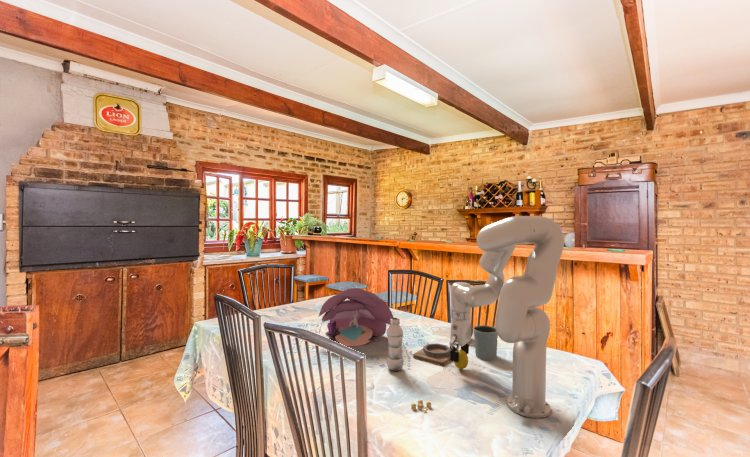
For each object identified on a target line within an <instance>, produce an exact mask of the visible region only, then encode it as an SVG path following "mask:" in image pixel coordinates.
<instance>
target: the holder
mask: <svg viewBox="0 0 750 457" xmlns="http://www.w3.org/2000/svg"><path fill="white" fill-rule="evenodd" d="M450 354H451V351H450V346H448V345H445V344H443V343H442V344H441V343H438V342H437V343H427V344H426V345H423V346H422V348H421V349H420V350H418V351H416V352H415V353H413V355H412V356H413V359H416V360H420V361H424V362H426V363H431V364H435V365H437V366H442V367H444V366H446V365H447V364H449V362H452V361H451V360H450Z"/></svg>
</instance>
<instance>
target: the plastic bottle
mask: <svg viewBox="0 0 750 457" xmlns="http://www.w3.org/2000/svg"><path fill="white" fill-rule="evenodd" d="M390 324H391V325H389V326H388V328H387V329H386V337H387V345H388V347H387V349H388V350H387V358H386V366H387V369H389V370H390V371H395V372H398V371H401V370H402V369H403V365H404V359H403V350H402V346H403V344H402V343H403V339H404V338H403V337H404V330H403V329H402V326H400V325H401V324H400V318H399V317H394V318H391V319H390Z"/></svg>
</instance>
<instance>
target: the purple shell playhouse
mask: <svg viewBox="0 0 750 457" xmlns="http://www.w3.org/2000/svg"><path fill="white" fill-rule="evenodd" d="M321 316H322V318H321V322H327V321H329V322H328V323H327V324H326V327H327V330H328V331H326V332H325V336H326V337H328V338H330V339H331V340H332V339H334V338H335V340H336V342H337V343H338V342H339V343H338V344H340V343H341V344H343V345H342V346H344V345H345V347H359V346H363V345H366V344H368V343H370V342H371V338H372V337H381V336H383V335H385V333H387V325H389V326H390V325H391V324H390V319H391V318H395V317H394V315H393V313H392V311H391V309H390V307H389V306H388V304H387V303H386V302H385V301H384V300H383V298H380V297H379V296H378V295H377V294H375V293H373V292H371V291H369V290H365V289H363V288H358V287H353V288H352V287H351V288H347V289H345V290H343V291H341V292H339V293H337V294H335V295H332V296H331V297H329V298H328V299H327V300H326V301H325V302H324V303H323V304H322V306H321V308H320V311H319V314H318V318H319V317H321ZM341 344H340V345H341Z"/></svg>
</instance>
